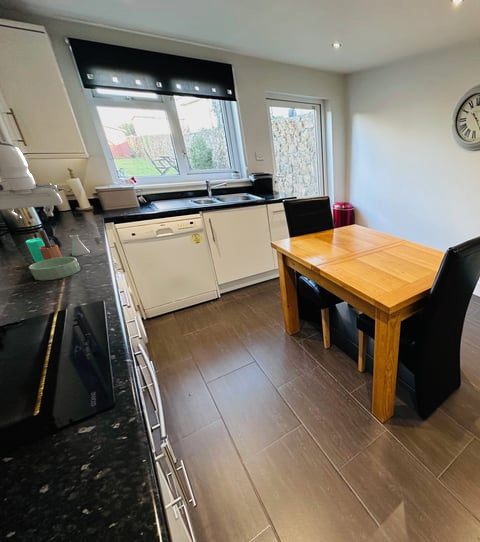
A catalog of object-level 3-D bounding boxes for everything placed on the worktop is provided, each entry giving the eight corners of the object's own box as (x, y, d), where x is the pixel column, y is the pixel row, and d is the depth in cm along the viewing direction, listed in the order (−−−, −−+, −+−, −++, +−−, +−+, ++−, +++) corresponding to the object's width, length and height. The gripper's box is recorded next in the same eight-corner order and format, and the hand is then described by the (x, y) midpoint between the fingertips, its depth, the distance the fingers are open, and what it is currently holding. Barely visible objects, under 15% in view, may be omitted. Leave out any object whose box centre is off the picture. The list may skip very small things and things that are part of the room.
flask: (93, 253, 145) (86, 234, 141) (74, 257, 140) (66, 238, 136) (87, 250, 149) (80, 232, 145) (69, 254, 143) (61, 235, 139)
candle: (38, 259, 136) (27, 235, 131) (55, 257, 139) (45, 234, 134) (32, 263, 131) (20, 239, 127) (50, 261, 134) (39, 237, 129)
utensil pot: (46, 268, 127) (38, 249, 124) (48, 264, 131) (40, 246, 128) (64, 265, 131) (56, 247, 127) (65, 261, 135) (58, 243, 131)
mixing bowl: (31, 284, 113) (25, 272, 110) (37, 273, 123) (32, 261, 120) (79, 275, 121) (74, 263, 119) (81, 265, 131) (77, 254, 129)
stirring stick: (51, 264, 129) (36, 231, 123) (52, 263, 131) (37, 230, 124) (59, 263, 131) (44, 230, 125) (60, 262, 132) (45, 229, 126)
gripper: (56, 182, 125) (69, 213, 130) (-15, 185, 113) (2, 219, 118) (54, 183, 120) (67, 215, 126) (-20, 187, 108) (-2, 222, 114)
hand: (35, 217), depth 122 cm, fingers open, 8 cm apart
